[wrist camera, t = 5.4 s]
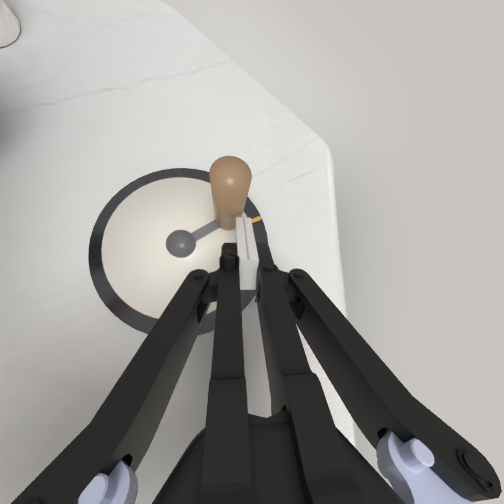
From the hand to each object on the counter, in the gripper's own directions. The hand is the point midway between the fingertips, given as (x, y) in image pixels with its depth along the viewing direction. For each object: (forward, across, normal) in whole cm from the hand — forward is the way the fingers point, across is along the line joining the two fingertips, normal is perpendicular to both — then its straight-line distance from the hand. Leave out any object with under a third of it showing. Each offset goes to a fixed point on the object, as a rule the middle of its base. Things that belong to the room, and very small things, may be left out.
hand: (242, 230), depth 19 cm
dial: (+3, -6, -4) cm, 8 cm away
